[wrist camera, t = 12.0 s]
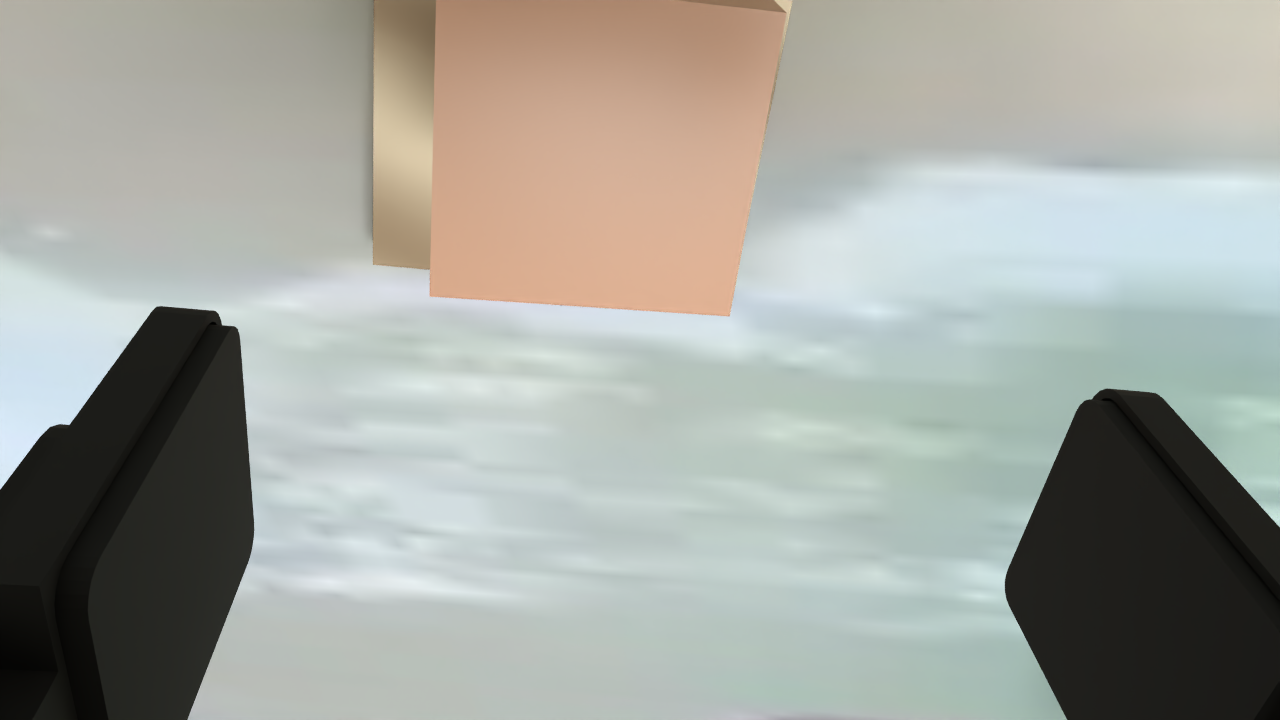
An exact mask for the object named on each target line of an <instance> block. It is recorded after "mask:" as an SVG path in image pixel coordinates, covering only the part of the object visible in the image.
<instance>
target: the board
mask: <svg viewBox="0 0 1280 720" xmlns="http://www.w3.org/2000/svg"><path fill="white" fill-rule="evenodd" d="M774 1H775V2H776V3H777V4H778V5H779V6H780V7H781V8H782V9H783V10H784V11H785V12H786V13H787V14H786V20H785V25H784V30H783V35H782V41H781V46H780V51H779V57H778V62H777V67H776V73H775V78H774V83H773V88H772V94H771V99H770V104H769V110H768V115H767V120H766V126H765V131H764V136H763V141H762V147H761V152H760V157H759V162H760V158H761V153H762V148H763V143H764V138H765V133H766V128H767V123H768V118H769V114H770V109H771V104H772V99H773V94H774V89H775V84H776V79H777V74H778V70H779V65H780V60H781V55H782V50H783V45H784V40H785V35H786V30H787V26H788V21H789V16H790V11H791V6H792V1H793V0H774ZM435 24H436V0H374V115H373V265H383V266H395V267H406V268H418V269H429V270H430V254H431V208H432V162H433V116H434V70H435ZM758 167H759V163H758ZM757 172H758V168H757ZM756 177H757V173H756ZM755 182H756V179H755ZM754 187H755V184H754ZM753 192H754V189H753ZM752 197H753V194H752ZM751 202H752V200H751ZM750 206H751V205H750ZM749 211H750V210H749Z"/></svg>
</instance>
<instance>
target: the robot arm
mask: <svg viewBox="0 0 1280 720" xmlns="http://www.w3.org/2000/svg"><path fill="white" fill-rule="evenodd" d="M253 538H254V517H253V503H252V490H251V477H250V464H249V451H248V438H247V424H246V411H245V398H244V385H243V372H242V359H241V345H240V337H239V332H238V329H237V328H236V327H234V326H223V325H222V323H221V319H220V317H219V314H218V313H217V312H216V311H209V310H198V309H186V308H175V307H163V306H160V307H156V308H155V309H154V310H153V311H152V312H151V313H150V315H149V316H148V318H147V319H146V320H145V322H144V323H143V325H142V326H141V327H140V329H139V330H138V331H137V333H136V334H135V336H134V337H133V338H132V340H131V341H130V342H129V344H128V345H127V347H126V348H125V349H124V351H123V352H122V353H121V355H120V356H119V358H118V359H117V360H116V362H115V363H114V365H113V366H112V367H111V369H110V370H109V371H108V373H107V374H106V376H105V377H104V378H103V380H102V381H101V382H100V384H99V385H98V387H97V388H96V389H95V391H94V392H93V394H92V395H91V396H90V398H89V399H88V400H87V402H86V403H85V405H84V406H83V407H82V409H81V410H80V411H79V413H78V414H77V416H76V417H75V418H74V420H73V421H72V423H71V424H70V425H62V424H59V425H56V426H52V427H50V428H49V429H48V430H47V431H46V432H45V433H44V434H43V435H42V436H41V437H40V438H39V439H38V440H37V442H36V443H35V444H34V446H33V447H32V448H31V450H30V451H29V452H28V454H27V455H26V456H25V458H24V459H23V460H22V462H21V463H20V464H19V466H18V467H17V468H16V470H15V471H14V472H13V474H12V475H11V476H10V478H9V479H8V480H7V482H6V483H5V484H4V486H3V487H2V488H1V490H0V720H187V719H188V716H189V714H190V711H191V708H192V706H193V703H194V701H195V698H196V696H197V693H198V690H199V688H200V685H201V683H202V680H203V677H204V675H205V672H206V670H207V667H208V665H209V662H210V659H211V657H212V654H213V652H214V649H215V646H216V644H217V641H218V639H219V636H220V634H221V631H222V628H223V626H224V623H225V621H226V618H227V615H228V613H229V610H230V608H231V605H232V603H233V600H234V597H235V595H236V592H237V590H238V587H239V584H240V582H241V579H242V577H243V574H244V572H245V569H246V566H247V564H248V561H249V558H250V555H251V550H252V545H253ZM1005 593H1006V599H1007V601H1008V604H1009V606H1010V608H1011V610H1012V612H1013V614H1014V616H1015V618H1016V620H1017V622H1018V624H1019V626H1020V628H1021V630H1022V632H1023V634H1024V636H1025V638H1026V640H1027V642H1028V644H1029V646H1030V648H1031V650H1032V652H1033V653H1034V655H1035V657H1036V659H1037V661H1038V663H1039V665H1040V667H1041V669H1042V671H1043V673H1044V675H1045V677H1046V679H1047V681H1048V683H1049V685H1050V687H1051V689H1052V691H1053V693H1054V695H1055V697H1056V699H1057V701H1058V702H1059V704H1060V706H1061V708H1062V710H1063V712H1064V714H1065V716H1066V718H1067V720H1280V527H1279V526H1278V525H1277V524H1276V523H1275V522H1274V521H1273V520H1272V519H1271V518H1270V516H1269V515H1268V514H1267V513H1266V512H1265V511H1264V510H1263V509H1262V508H1261V506H1260V505H1259V504H1258V503H1257V502H1256V501H1255V500H1254V499H1253V498H1252V496H1251V495H1250V494H1249V493H1248V492H1247V491H1246V490H1245V489H1244V488H1243V487H1242V485H1241V484H1240V483H1239V482H1238V481H1237V480H1236V479H1235V478H1234V477H1233V475H1232V474H1231V473H1230V472H1229V471H1228V470H1227V469H1226V468H1225V467H1224V465H1223V464H1222V463H1221V462H1220V461H1219V460H1218V459H1217V458H1216V457H1215V456H1214V454H1213V453H1212V452H1211V451H1210V450H1209V449H1208V448H1207V447H1206V446H1205V444H1204V443H1203V442H1202V441H1201V440H1200V439H1199V438H1198V437H1197V436H1196V435H1195V433H1194V432H1193V431H1192V430H1191V429H1190V428H1189V427H1188V426H1187V425H1186V423H1185V422H1184V421H1183V420H1182V419H1181V418H1180V417H1179V416H1178V415H1177V413H1176V412H1175V411H1174V410H1173V409H1172V408H1171V407H1170V406H1169V405H1168V404H1167V402H1166V401H1165V400H1164V399H1163V398H1162V397H1160V396H1159V395H1158V394H1156V393H1150V392H1140V391H1129V390H1117V389H1104V390H1101V391H1099V392H1098V393H1097V394H1096V395H1095V396H1094V397H1093V399H1092V400H1086V401H1084V402H1083V403H1082V404H1081V405H1080V406H1079V408H1078V409H1077V411H1076V413H1075V416H1074V418H1073V420H1072V423H1071V425H1070V427H1069V430H1068V432H1067V434H1066V437H1065V439H1064V441H1063V443H1062V446H1061V448H1060V450H1059V453H1058V455H1057V457H1056V460H1055V462H1054V464H1053V467H1052V469H1051V471H1050V473H1049V476H1048V478H1047V480H1046V483H1045V485H1044V487H1043V490H1042V492H1041V494H1040V497H1039V499H1038V501H1037V504H1036V506H1035V508H1034V510H1033V513H1032V515H1031V517H1030V520H1029V522H1028V524H1027V527H1026V529H1025V531H1024V534H1023V536H1022V538H1021V540H1020V543H1019V545H1018V547H1017V550H1016V552H1015V554H1014V557H1013V559H1012V561H1011V564H1010V566H1009V568H1008V571H1007V574H1006V579H1005Z"/></svg>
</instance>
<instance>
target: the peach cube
mask: <svg viewBox="0 0 1280 720" xmlns="http://www.w3.org/2000/svg"><path fill="white" fill-rule="evenodd" d="M786 14H787V13H786V12H785V11H784V10H783V9H782V8H781V7H780V6H779V5H778V4H777V3H776V2H775V1H774V0H436V24H435V70H434V116H433V162H432V208H431V254H430V296H431V297H446V298H461V299H476V300H491V301H506V302H522V303H537V304H552V305H567V306H582V307H597V308H612V309H627V310H642V311H657V312H672V313H687V314H702V315H718V316H730V311H731V306H732V300H733V295H734V290H735V285H736V279H737V274H738V269H739V263H740V258H741V253H742V247H743V242H744V237H745V232H746V226H747V221H748V216H749V210H750V205H751V200H752V194H753V189H754V184H755V179H756V173H757V168H758V163H759V157H760V152H761V147H762V141H763V136H764V131H765V126H766V120H767V115H768V110H769V104H770V99H771V94H772V88H773V83H774V78H775V73H776V67H777V62H778V57H779V51H780V46H781V41H782V35H783V30H784V25H785V20H786Z"/></svg>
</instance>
